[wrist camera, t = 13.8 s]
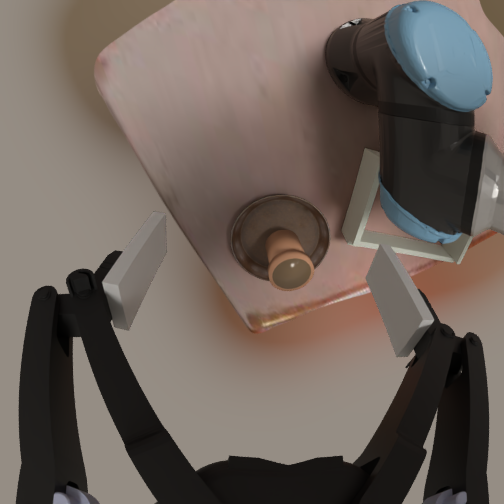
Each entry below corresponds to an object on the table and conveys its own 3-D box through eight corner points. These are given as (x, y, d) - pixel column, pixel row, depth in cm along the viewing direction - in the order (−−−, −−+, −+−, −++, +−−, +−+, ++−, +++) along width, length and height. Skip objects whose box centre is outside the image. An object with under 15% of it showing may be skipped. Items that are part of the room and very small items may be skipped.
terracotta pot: (272, 221, 46) (281, 250, 39) (308, 233, 48) (322, 262, 41) (256, 254, 49) (261, 286, 43) (291, 264, 51) (300, 294, 45)
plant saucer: (313, 176, 45) (316, 182, 42) (335, 258, 54) (339, 267, 51) (216, 208, 49) (214, 215, 46) (252, 282, 58) (251, 292, 55)
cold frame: (364, 147, 41) (385, 161, 34) (469, 184, 42) (494, 203, 35) (341, 230, 50) (353, 257, 42) (442, 249, 51) (462, 274, 43)
